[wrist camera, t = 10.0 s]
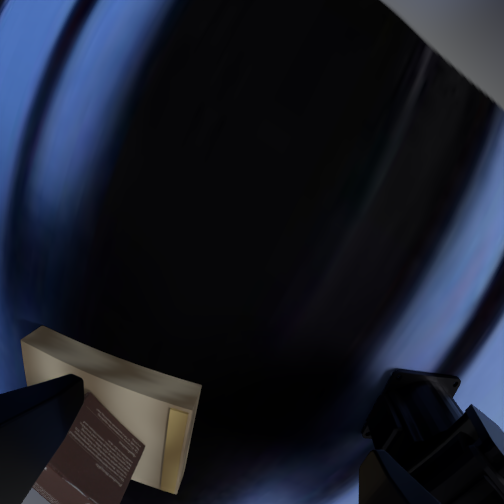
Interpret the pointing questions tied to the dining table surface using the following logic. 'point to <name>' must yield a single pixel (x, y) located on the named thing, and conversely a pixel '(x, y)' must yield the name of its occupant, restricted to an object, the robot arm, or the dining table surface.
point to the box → (91, 460)
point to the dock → (125, 400)
